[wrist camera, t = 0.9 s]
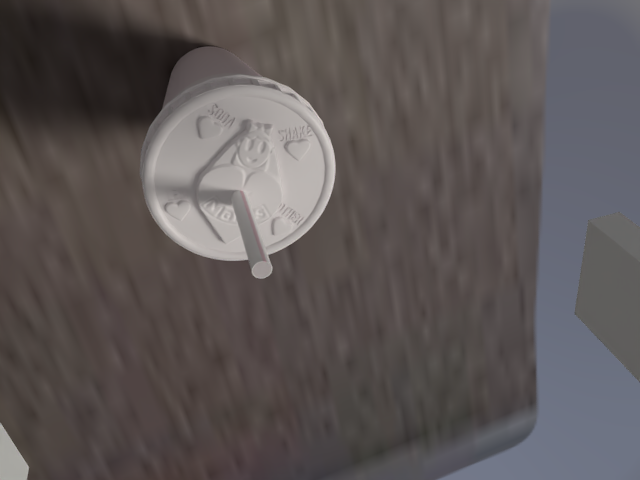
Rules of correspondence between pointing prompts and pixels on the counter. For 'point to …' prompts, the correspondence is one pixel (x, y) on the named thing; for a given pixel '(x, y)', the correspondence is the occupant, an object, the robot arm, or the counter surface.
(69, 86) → the counter surface
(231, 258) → the smoothie
